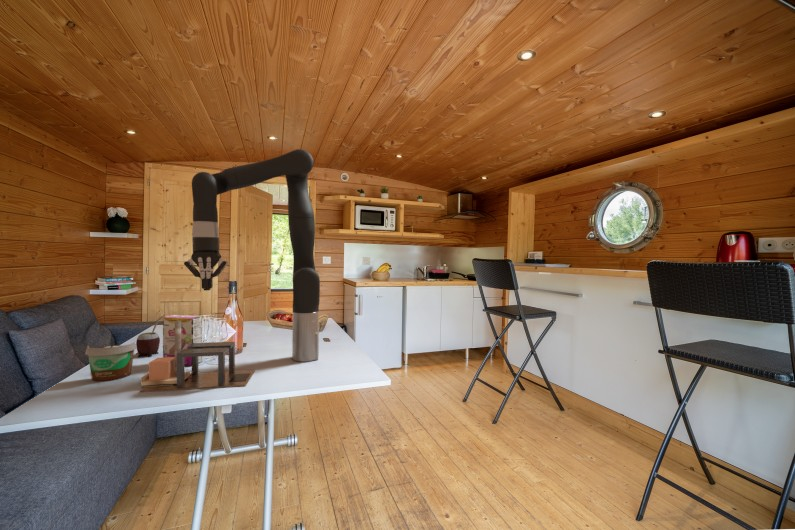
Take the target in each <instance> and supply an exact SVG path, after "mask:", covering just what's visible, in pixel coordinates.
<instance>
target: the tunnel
mask: <svg viewBox="0 0 795 530" xmlns="http://www.w3.org/2000/svg"><path fill="white" fill-rule="evenodd" d="M235 346H236V342H235V341H217V342H216V341H214V342H202V343H193V344H191V345H190V346H188V347H187V349H183V350H182V351H180V352H179V353H177V384H159V385H144V387H142V388H141V389H140V390H139V393H149V392H151V393H152V392H165V391H167V392H168V391H185V390H202V389H217V388H218V389H219V388H220V389H221V388H222V389H223V388H235V387H238V388H239V387H240V388H241V387H246V386H247V385H248V383H249V382H250V380H251V379H252V377H253V375H254V374H255V373H256V370H255V369H253V370H252V369H251V370H236V369H235V368H236V367H235V365H236V363H235V361H236V347H235ZM227 353H228V371H226V354H227ZM198 356H202V357H211V356H212V357H217V371H214V372H213V371H211V372H199V363H198ZM184 357H192V366H191V372H190V376H189V377H187V378H186V379H185V380H184V372H185V365H184Z"/></svg>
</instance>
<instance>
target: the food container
mask: <svg viewBox="0 0 795 530" xmlns="http://www.w3.org/2000/svg"><path fill="white" fill-rule="evenodd" d="M85 349H86V350H85V353H84V354H85V356H88V363H89V370H90V378H91V381H93V382H97V383H101V382H102V383H103V382H104V383H105V382H113V381H117V380H121V379H124V378H126V377H129V376H131V375H132V368H133V361H134V355H135V354H134V353H135V350H137V346H136V342H135V341H134V342H131V343H129V344H126V345H125V344H124V345H118V344H117V345H113V344H112V345H111V344H110V345H107V346H100V347H93V348H92V347H90V346H89V345H87V347H86V348H85Z"/></svg>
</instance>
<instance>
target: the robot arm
mask: <svg viewBox="0 0 795 530" xmlns="http://www.w3.org/2000/svg"><path fill="white" fill-rule="evenodd" d="M313 168H314V158H313V156H312V154H310V152H309V151H308V150H305V149H301V148H296V149H294V150H291V151H289V152H287V153H284V154H281V155H278V156H275V157H273V158H272V157H271V158H270V159H266V160H262V161H258V162H252V163H251V162H250V163H246V164H242V165H237V166H232V167H229V168H225V169H224V170H221V171H220V172H217V173H212V174H211V173H210V172H207V171H206V172H205V171H200V172H197V173H195V174H194V175H193V177H192V179H191V190H192V191H191V192H192V201H193V202H192V203H193V205H192V228H191V229H192V233H191V237H192V254H191V255H190V257H191V258H190V259H188V260H186V261H184V262H183V264H184V266H185V267H186V268H187V269H188V270H189V271H190V273H192V275H193V276H194V277H195V278H200V281H201V288H202V290H203V291H211V290H212V288H213V286H214V285H213V284H214V283H213V279H214V278H216V277H218V276H219V275H220V274H221V273H222V271H223V270H224V269H225V268H226V266H227V265H228V264H229V261H227V260H225V259H223V258H222V256H221V254H220V253H221V252H220V228H219V219H218V218H219V215H218V214H219V212H218V206H217V202H218V201H217V200H218V199H217V198H218V195H221V194H224V193H227V192H230V191H234V190H240V189H244V188H248V187H251V186H256V185H258V184H261V183H263V182H266V181H269V180H272V179H274V178H278V177H282V176H283V177H284V176H285V179H286V187H287V213H288V214H287V215H288V216H287V217H288V218H287V219H288V230H289V237H290V244H291V249H292V254H293V255H292V256H293V265H292V266H293V269H292V271H293V272H292V285H293V286H292V340H291V341H292V348H291V349H292V360H293V361H295V362H312V361H316V360H319V353H320V352H319V351H320V350H319V349H320V348H319V347H320V346H319V342H320V341H319V337H320V336H319V335H320V334H319V333H320V331H319V323H320V322H319V319H320V318H319V317H320V315H319V314H320V313H319V310H320V309H319V308H320V307H319V306H320V298H321V296H320V295H321V293H320V292H321V285H320V284H321V279H320V276H319V274H318V272H317V271H316V265H315V259H314V252H315V250H314V249H315V238H316V222H315V221H316V220H315V212H314V209H313V205H312V202H311V201H312V200H311V198H310V196H309V189H308V188H309V187H308V185H309V183H308V181H309V180H308V179H309V178H308V177H309V174H310V172H312V169H313ZM217 264H218V266H217ZM195 265H196V266H197V267H198V269H199V270H198V269H197V268H196V267H195ZM216 266H217V268H216V269H215V267H216ZM214 269H215V271H214Z"/></svg>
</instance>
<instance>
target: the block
mask: <svg viewBox="0 0 795 530" xmlns="http://www.w3.org/2000/svg"><path fill="white" fill-rule="evenodd" d="M148 373H149V380H165V379H170V378H171V377H172V376H174V375H175V357H163V356H162V357H157V358H155V359H153V360H152V361H150V362H148Z"/></svg>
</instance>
